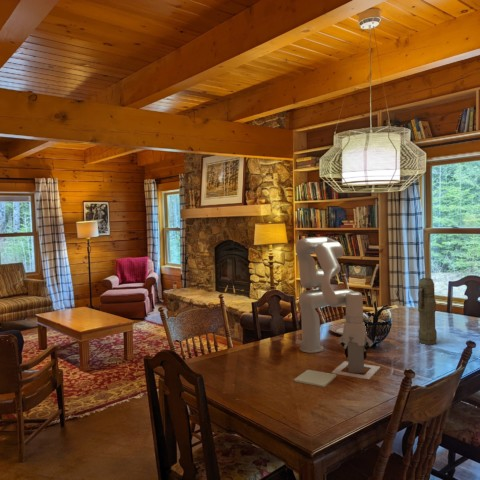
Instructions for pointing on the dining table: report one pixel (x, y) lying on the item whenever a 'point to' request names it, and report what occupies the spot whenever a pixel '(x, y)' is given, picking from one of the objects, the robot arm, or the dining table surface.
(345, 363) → the frame
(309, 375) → the sage coaster
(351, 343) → the perfume bottle
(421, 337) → the thermos
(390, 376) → the dining table surface
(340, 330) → the dinner plate
